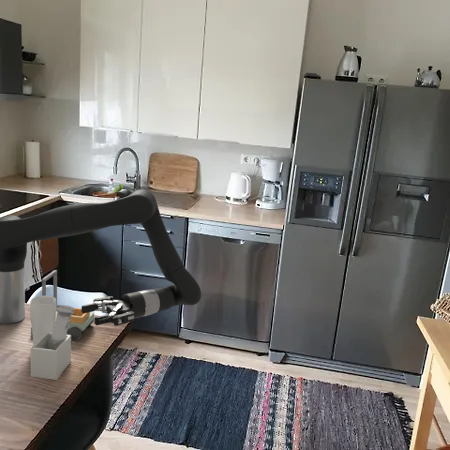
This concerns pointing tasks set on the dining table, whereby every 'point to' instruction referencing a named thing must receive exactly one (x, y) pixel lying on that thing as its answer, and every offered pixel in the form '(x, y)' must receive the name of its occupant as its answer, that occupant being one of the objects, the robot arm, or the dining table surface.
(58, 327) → the steel pin
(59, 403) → the dining table surface
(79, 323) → the trolley
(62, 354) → the bin
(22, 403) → the dining table surface
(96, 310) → the robot arm
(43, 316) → the drinking glass
